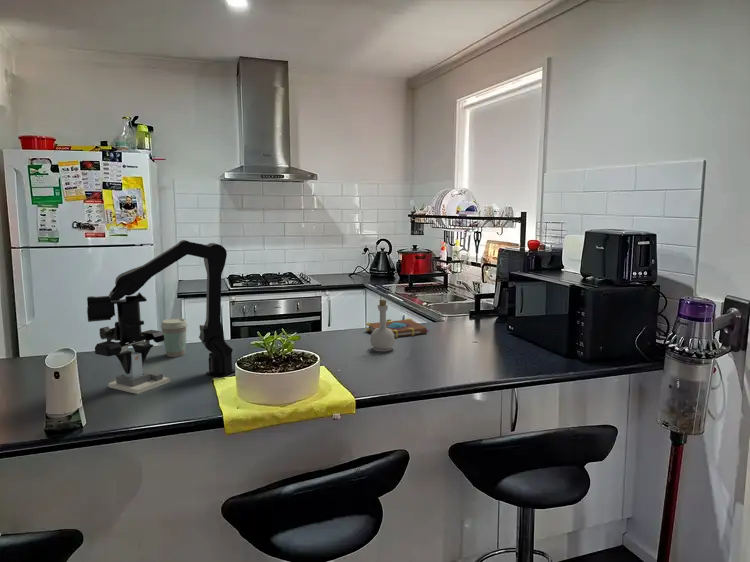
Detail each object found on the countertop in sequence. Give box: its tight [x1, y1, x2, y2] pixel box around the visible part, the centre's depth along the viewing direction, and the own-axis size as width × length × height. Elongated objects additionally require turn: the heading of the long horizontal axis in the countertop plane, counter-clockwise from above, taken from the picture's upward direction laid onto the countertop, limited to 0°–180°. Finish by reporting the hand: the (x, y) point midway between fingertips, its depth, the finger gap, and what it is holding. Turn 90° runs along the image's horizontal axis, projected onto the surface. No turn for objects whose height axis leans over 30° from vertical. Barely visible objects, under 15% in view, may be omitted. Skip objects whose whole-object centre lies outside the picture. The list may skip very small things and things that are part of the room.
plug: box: [122, 350, 144, 379], centre depth 152 cm, size 4×3×8 cm
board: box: [108, 371, 171, 395], centre depth 153 cm, size 12×11×3 cm
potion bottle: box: [369, 299, 396, 353], centre depth 189 cm, size 9×9×18 cm
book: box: [365, 318, 430, 339], centre depth 216 cm, size 16×25×5 cm, turn 115°
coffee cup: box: [160, 317, 188, 358], centre depth 182 cm, size 8×9×12 cm
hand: (133, 371), depth 152 cm, fingers open, 3 cm apart
